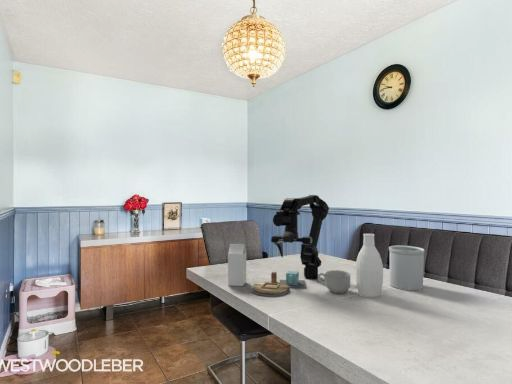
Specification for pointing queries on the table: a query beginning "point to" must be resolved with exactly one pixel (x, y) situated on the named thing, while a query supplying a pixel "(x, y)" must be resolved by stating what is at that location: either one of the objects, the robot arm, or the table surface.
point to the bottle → (369, 269)
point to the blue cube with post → (292, 278)
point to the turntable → (270, 286)
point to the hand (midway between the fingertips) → (291, 257)
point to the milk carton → (236, 265)
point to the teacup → (336, 281)
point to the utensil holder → (406, 267)
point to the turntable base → (270, 294)
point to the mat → (299, 285)
